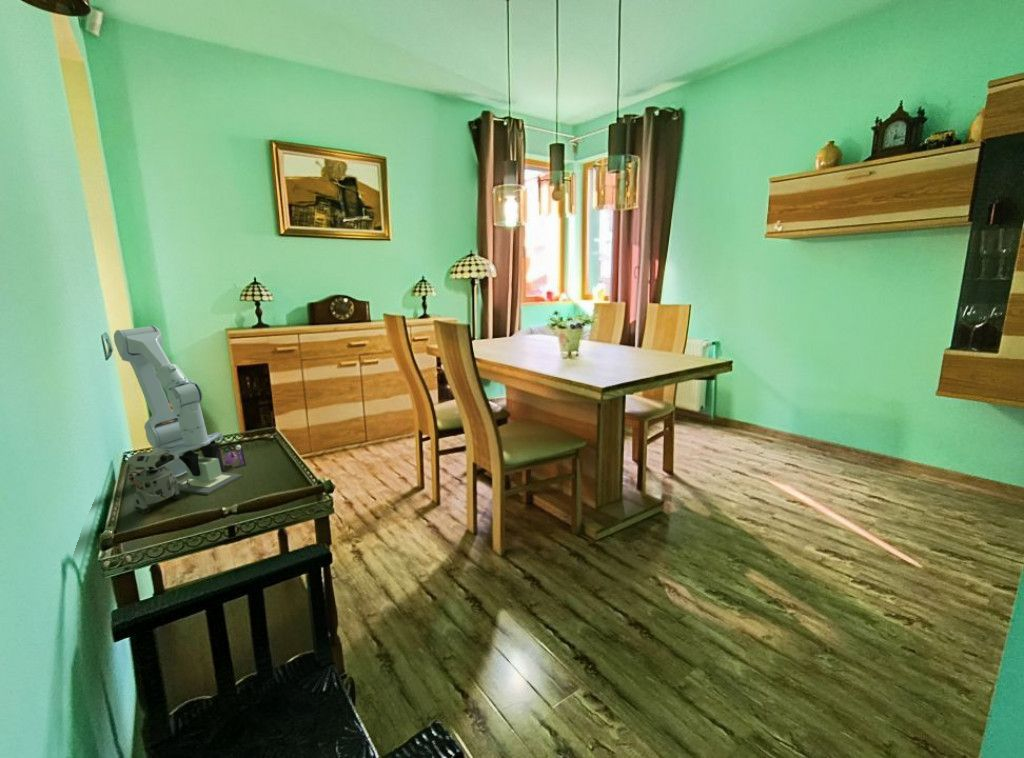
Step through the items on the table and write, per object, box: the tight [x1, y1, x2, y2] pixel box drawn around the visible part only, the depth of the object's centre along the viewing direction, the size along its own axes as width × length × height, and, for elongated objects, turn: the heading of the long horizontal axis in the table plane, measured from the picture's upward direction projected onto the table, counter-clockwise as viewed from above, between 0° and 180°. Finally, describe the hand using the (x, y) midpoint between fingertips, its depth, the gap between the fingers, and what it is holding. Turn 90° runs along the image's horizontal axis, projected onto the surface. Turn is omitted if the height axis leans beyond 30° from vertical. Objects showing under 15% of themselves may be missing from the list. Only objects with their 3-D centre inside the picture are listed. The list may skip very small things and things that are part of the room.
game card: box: [216, 443, 247, 472], centre depth 145 cm, size 7×5×9 cm
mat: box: [176, 471, 244, 496], centre depth 134 cm, size 16×11×1 cm
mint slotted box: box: [185, 456, 223, 481], centre depth 134 cm, size 4×8×5 cm, turn 72°
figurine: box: [125, 450, 190, 514], centre depth 120 cm, size 9×12×15 cm
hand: (204, 471), depth 134 cm, fingers closed on mint slotted box, 4 cm apart
